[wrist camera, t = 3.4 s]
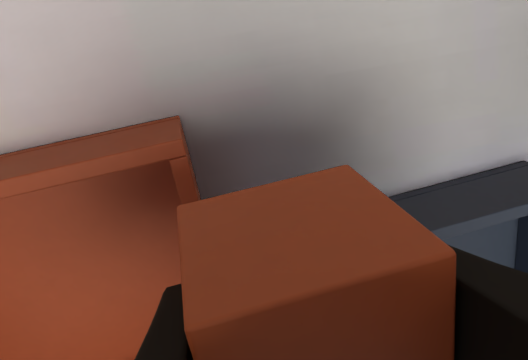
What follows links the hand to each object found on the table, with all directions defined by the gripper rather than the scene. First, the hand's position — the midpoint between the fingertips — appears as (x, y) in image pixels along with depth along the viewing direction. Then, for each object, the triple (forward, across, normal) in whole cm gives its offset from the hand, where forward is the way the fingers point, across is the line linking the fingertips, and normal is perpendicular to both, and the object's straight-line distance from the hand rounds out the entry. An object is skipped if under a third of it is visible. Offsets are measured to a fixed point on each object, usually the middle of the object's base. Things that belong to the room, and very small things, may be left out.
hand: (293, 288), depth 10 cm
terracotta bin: (+8, +7, +3) cm, 12 cm away
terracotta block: (+1, 0, 0) cm, 1 cm away
